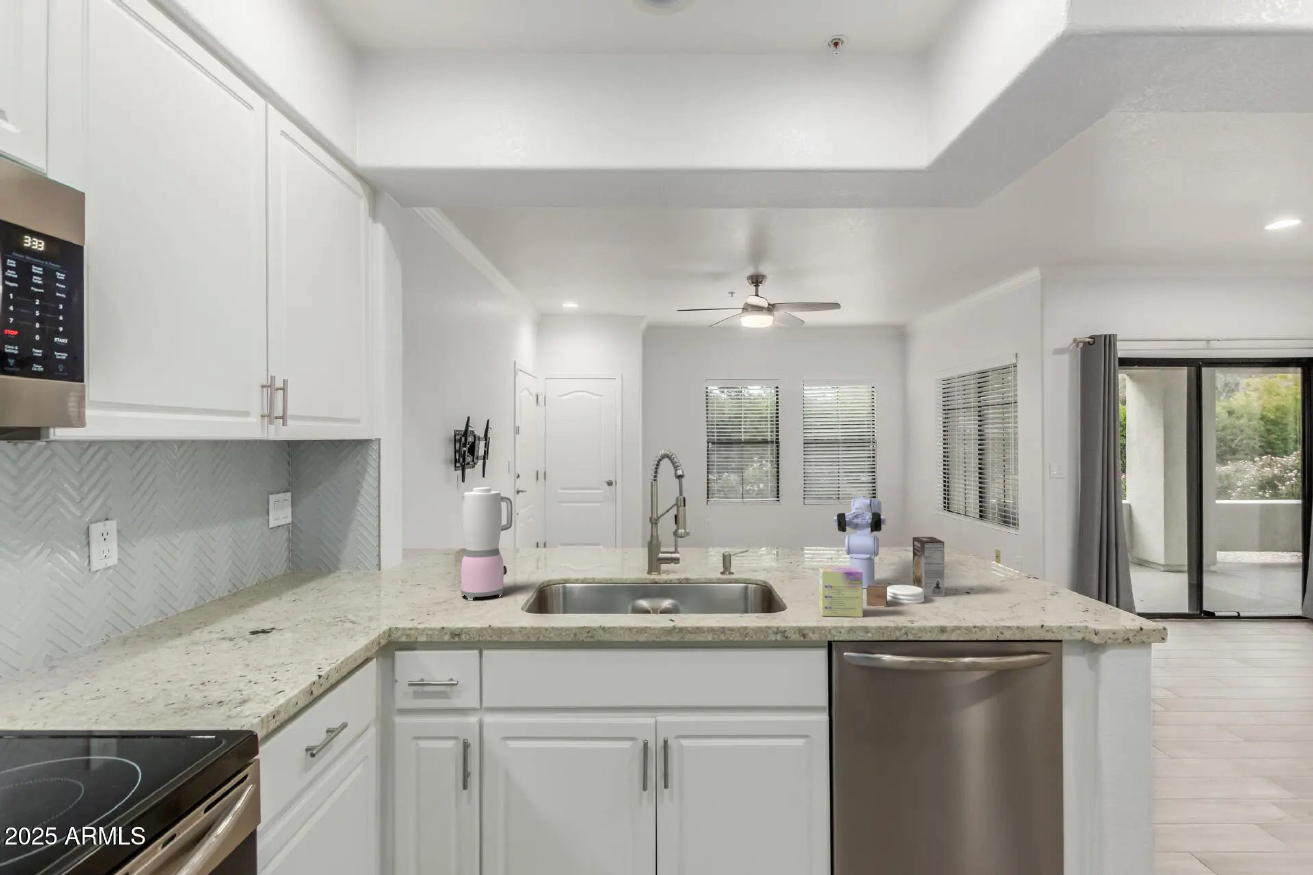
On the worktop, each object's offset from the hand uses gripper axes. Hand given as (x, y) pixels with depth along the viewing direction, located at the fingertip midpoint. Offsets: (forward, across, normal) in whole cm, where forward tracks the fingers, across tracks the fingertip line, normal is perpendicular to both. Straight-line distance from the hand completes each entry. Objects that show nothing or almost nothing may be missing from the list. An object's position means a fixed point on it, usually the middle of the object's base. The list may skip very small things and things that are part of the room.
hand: (857, 528), depth 186 cm
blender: (+31, -104, +12) cm, 110 cm away
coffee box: (-13, +18, +24) cm, 32 cm away
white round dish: (-2, +12, +22) cm, 25 cm away
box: (+19, -4, +18) cm, 26 cm away
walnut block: (+5, +4, +20) cm, 21 cm away
